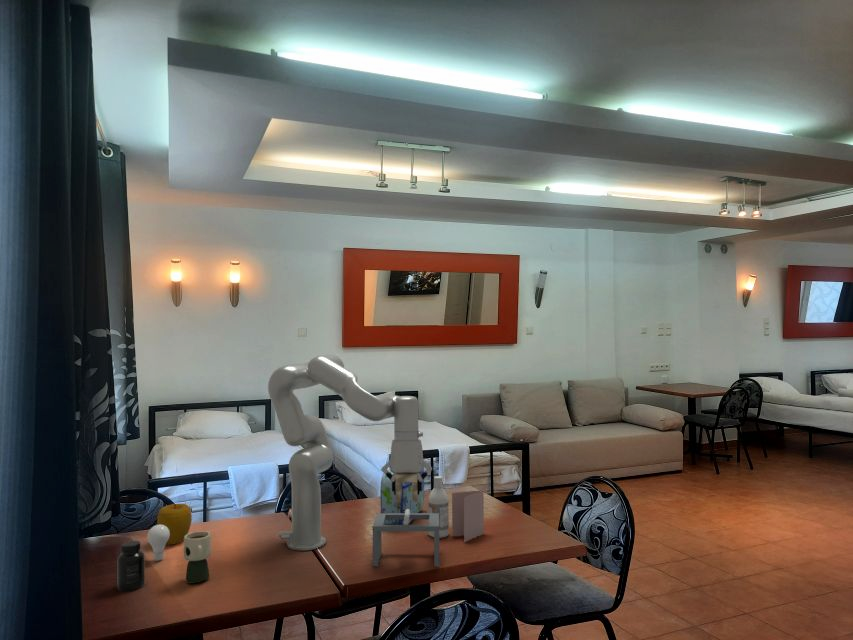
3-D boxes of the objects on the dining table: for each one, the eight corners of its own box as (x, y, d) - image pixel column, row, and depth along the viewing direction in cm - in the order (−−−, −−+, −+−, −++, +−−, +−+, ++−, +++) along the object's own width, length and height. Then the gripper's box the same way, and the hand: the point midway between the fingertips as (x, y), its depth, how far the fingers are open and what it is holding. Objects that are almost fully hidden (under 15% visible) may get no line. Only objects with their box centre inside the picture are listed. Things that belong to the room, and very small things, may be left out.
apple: (184, 548, 197) (184, 508, 197) (150, 548, 197) (151, 509, 197) (196, 536, 208) (196, 499, 208) (165, 537, 208) (165, 499, 208)
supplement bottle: (148, 581, 171) (148, 539, 171) (138, 591, 164) (138, 547, 165) (124, 581, 171) (124, 539, 171) (112, 592, 164) (112, 548, 164)
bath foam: (426, 532, 211) (425, 475, 211) (444, 530, 213) (444, 473, 213) (432, 539, 204) (431, 480, 205) (451, 537, 206) (450, 478, 207)
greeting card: (482, 532, 211) (482, 489, 211) (490, 539, 203) (490, 495, 204) (451, 535, 208) (451, 492, 208) (458, 543, 200) (458, 497, 201)
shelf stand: (372, 566, 181) (372, 521, 181) (376, 550, 194) (376, 508, 194) (439, 566, 181) (439, 521, 181) (438, 550, 194) (438, 508, 194)
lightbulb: (148, 558, 188) (148, 523, 189) (170, 555, 191) (170, 520, 191) (146, 565, 183) (146, 529, 183) (169, 562, 185) (169, 526, 185)
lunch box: (405, 531, 213) (404, 471, 213) (377, 528, 216) (376, 469, 216) (427, 510, 237) (427, 456, 238) (402, 507, 241) (402, 455, 241)
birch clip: (395, 501, 184) (395, 475, 184) (397, 495, 191) (396, 470, 191) (417, 501, 184) (417, 475, 184) (417, 495, 191) (417, 470, 191)
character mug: (181, 576, 175) (181, 531, 175) (207, 571, 178) (207, 527, 178) (186, 590, 165) (186, 542, 165) (213, 585, 168) (213, 538, 169)
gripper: (434, 433, 192) (434, 490, 191) (379, 434, 192) (380, 490, 191) (434, 437, 184) (434, 496, 184) (377, 438, 184) (378, 497, 184)
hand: (406, 493), depth 188 cm, fingers closed on birch clip, 6 cm apart
